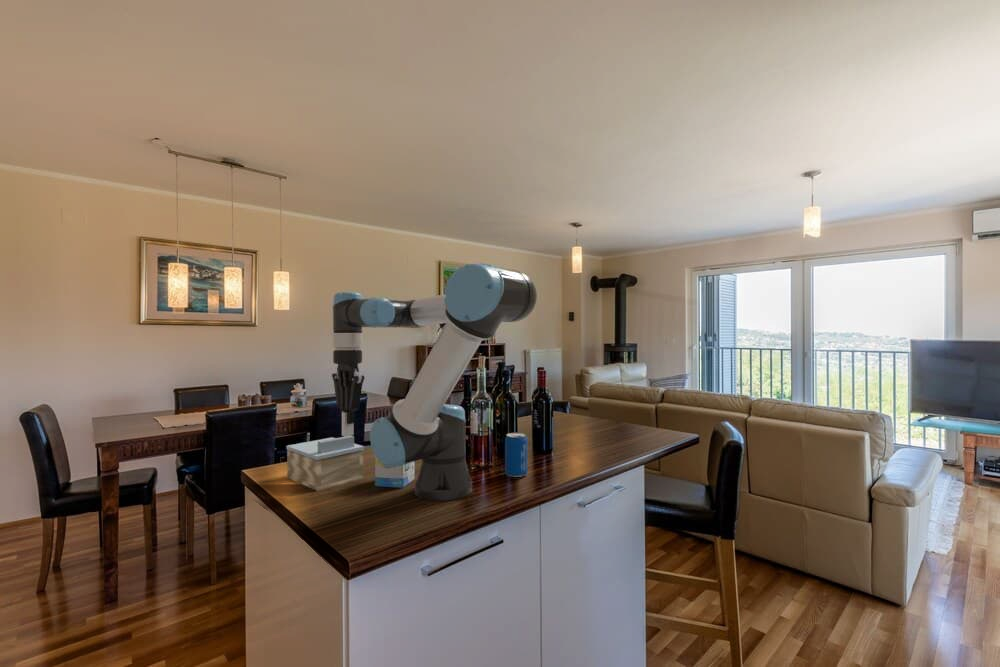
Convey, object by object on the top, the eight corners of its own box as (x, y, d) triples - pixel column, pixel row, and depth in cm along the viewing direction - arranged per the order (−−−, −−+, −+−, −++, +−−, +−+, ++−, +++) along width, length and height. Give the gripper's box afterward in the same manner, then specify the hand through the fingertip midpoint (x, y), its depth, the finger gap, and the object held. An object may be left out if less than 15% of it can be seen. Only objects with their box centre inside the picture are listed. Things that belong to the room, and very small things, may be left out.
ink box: (403, 488, 124) (403, 445, 124) (374, 486, 125) (374, 444, 125) (415, 478, 132) (415, 438, 132) (388, 477, 134) (387, 437, 134)
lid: (364, 449, 132) (364, 436, 132) (316, 460, 122) (316, 445, 122) (332, 440, 145) (332, 427, 145) (286, 449, 134) (286, 435, 134)
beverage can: (515, 480, 130) (515, 438, 130) (500, 475, 135) (500, 434, 135) (531, 475, 134) (531, 434, 134) (516, 470, 139) (516, 431, 139)
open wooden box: (363, 478, 132) (363, 450, 132) (316, 490, 122) (316, 461, 122) (332, 467, 144) (332, 441, 144) (287, 477, 134) (287, 450, 134)
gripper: (373, 349, 123) (373, 436, 123) (347, 348, 132) (347, 429, 132) (347, 350, 118) (347, 441, 118) (323, 348, 126) (323, 434, 126)
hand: (347, 435), depth 125 cm, fingers closed
